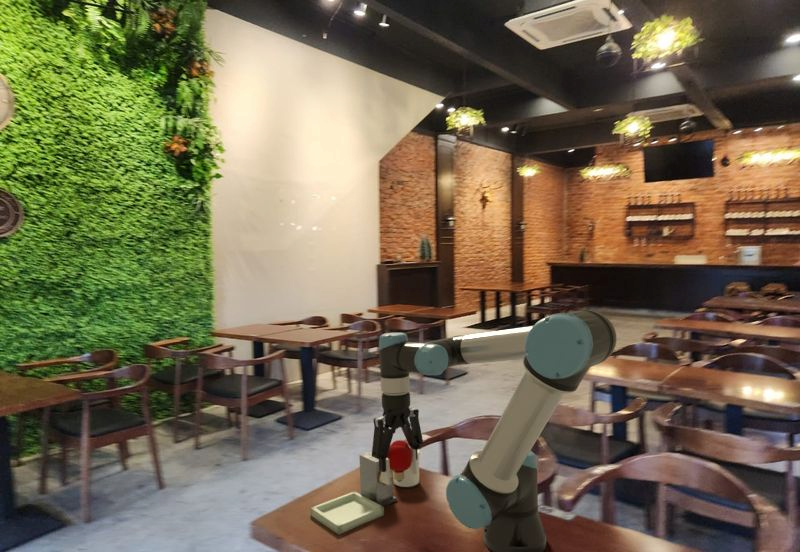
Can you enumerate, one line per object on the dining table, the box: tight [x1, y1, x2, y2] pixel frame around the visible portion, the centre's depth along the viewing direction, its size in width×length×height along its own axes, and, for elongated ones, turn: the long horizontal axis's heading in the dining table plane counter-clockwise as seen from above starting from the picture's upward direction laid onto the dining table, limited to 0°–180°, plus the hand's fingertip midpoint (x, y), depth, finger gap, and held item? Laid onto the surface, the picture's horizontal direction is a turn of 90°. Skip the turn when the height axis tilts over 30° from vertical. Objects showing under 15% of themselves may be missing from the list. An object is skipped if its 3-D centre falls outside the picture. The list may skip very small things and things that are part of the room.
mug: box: [392, 445, 421, 489], centre depth 164 cm, size 11×9×10 cm
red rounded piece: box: [387, 439, 412, 482], centre depth 135 cm, size 9×7×10 cm
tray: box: [310, 490, 385, 535], centre depth 143 cm, size 14×15×2 cm
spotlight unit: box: [358, 450, 398, 508], centre depth 152 cm, size 10×7×13 cm
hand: (399, 477), depth 135 cm, fingers closed on red rounded piece, 8 cm apart
